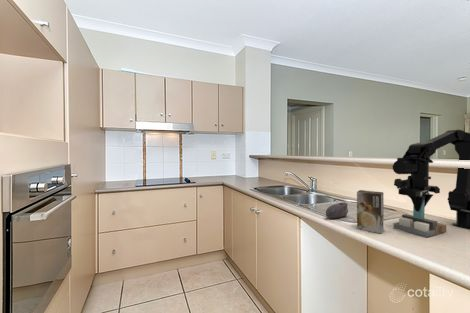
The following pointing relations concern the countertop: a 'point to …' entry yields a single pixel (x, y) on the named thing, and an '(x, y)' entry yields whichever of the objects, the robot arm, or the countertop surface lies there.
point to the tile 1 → (406, 222)
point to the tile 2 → (421, 226)
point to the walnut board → (439, 228)
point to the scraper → (420, 216)
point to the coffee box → (370, 211)
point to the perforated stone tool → (337, 210)
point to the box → (414, 230)
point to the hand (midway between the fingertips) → (419, 210)
